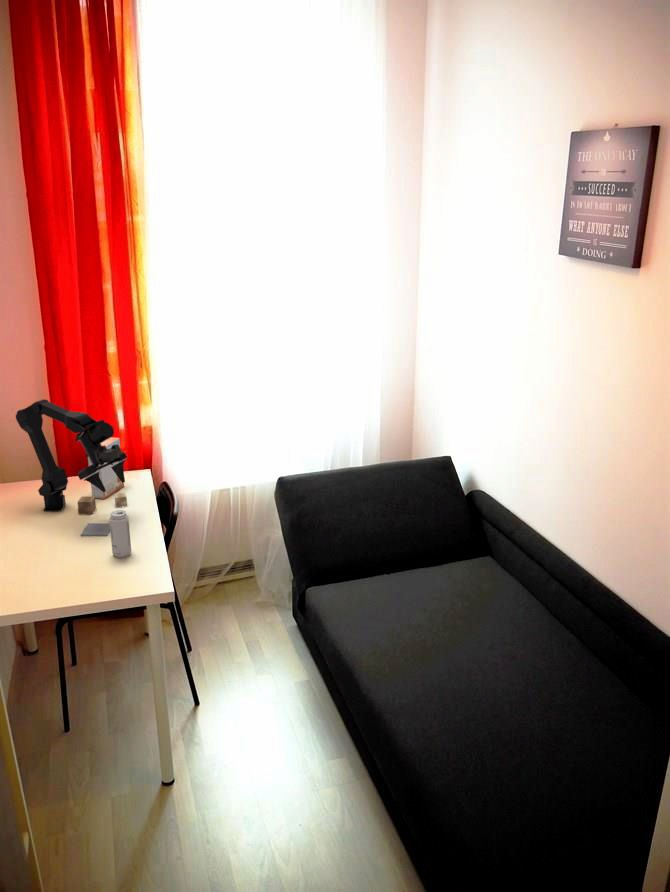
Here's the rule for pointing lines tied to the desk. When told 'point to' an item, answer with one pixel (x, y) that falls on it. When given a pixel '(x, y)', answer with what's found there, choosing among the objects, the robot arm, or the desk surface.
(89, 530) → the slate coaster
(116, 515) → the energy drink can
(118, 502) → the oak block
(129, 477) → the desk surface
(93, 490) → the cracker box
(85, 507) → the walnut cube
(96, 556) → the desk surface
